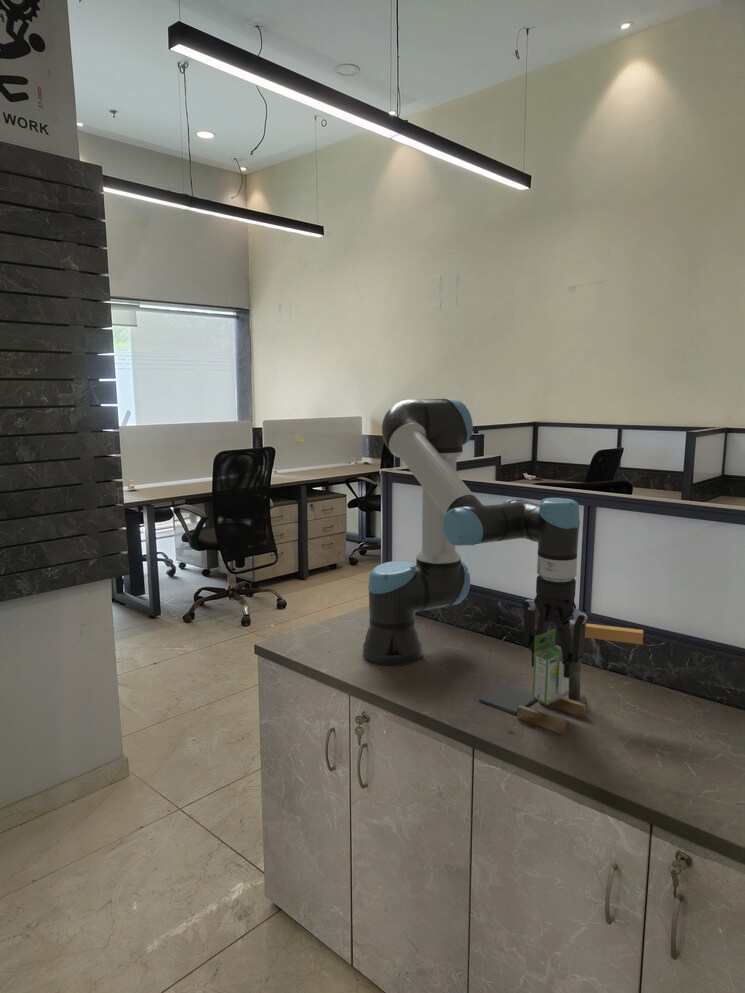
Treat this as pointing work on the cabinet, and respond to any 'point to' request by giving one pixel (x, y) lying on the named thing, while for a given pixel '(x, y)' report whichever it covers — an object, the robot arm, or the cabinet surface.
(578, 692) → the dock
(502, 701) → the pad
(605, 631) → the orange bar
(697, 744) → the cabinet surface
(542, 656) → the ink box
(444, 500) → the robot arm
